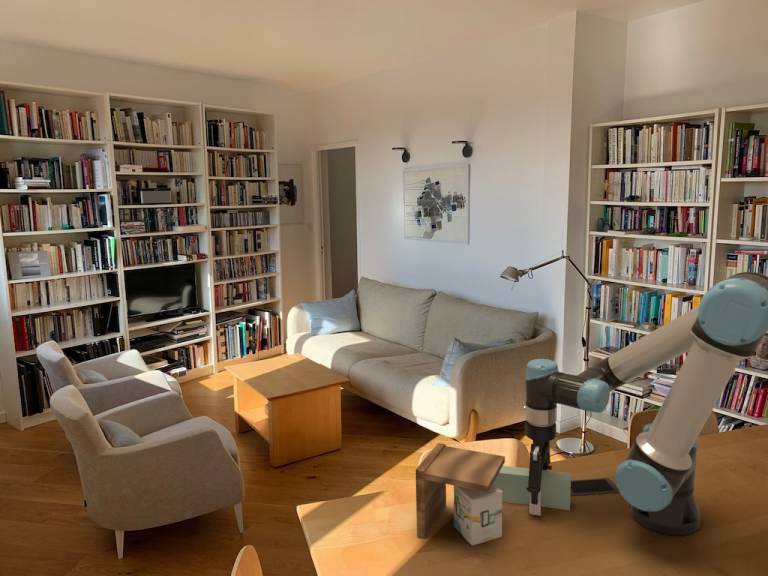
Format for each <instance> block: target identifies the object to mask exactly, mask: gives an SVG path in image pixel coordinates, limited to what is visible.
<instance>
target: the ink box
mask: <svg viewBox="0 0 768 576" xmlns="http://www.w3.org/2000/svg"><path fill="white" fill-rule="evenodd" d="M453 527H454V528H455V530H456V531H457V532H458V533H459V534H460V535H461V536H462V537H463V538H464V539H465V540H466V541H467V542H468V543H469V544H470V545H471V546H476V545H479V544H483V543H485V542H488V541H491V540H495V539H498V538H502V537H503V501H502V491H501V490H500V489H499V488H497V487H496V486H495V485H494V484H492V486H491V488H490V490H489V492H484V491H479V490H474V489H469V488H464V487H459V486H454V485H453Z"/></svg>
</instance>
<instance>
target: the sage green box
mask: <svg viewBox="0 0 768 576" xmlns="http://www.w3.org/2000/svg"><path fill="white" fill-rule="evenodd" d="M571 475H572V474H571V472H561V471H553V470H548V471H545V470H542V477H541V486H540V489H541V508H549V509H550V508H551V509H556V510H557V509H558V510H564V511H565V510H566V511H571V496H570V492H571V480H572V476H571ZM528 480H529V467H528V468H526V467H517V466H509V465H503V466H502V468H501V470H500V472H499V473H498V475H497V477H496V479H495V481H494V482H493V484H494V485H495V486H496V487H497V488H499V489H500V490H501V491H502V503H504V502H505V503H510V504H511V503H512V504H518V505H519V504H520V505H528V506H529V492H528V490H526V488H528Z"/></svg>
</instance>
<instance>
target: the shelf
mask: <svg viewBox="0 0 768 576" xmlns="http://www.w3.org/2000/svg"><path fill="white" fill-rule="evenodd" d="M505 461H506V456H504V455H500V454H499V455H498V454H494V453H493V454H492V453H487V452H482V451H476V450H471V449H464V448H460V447H454V446H449V445H448V446H447V445H446V444H445V443H441V442H438V443H436V445H435V446H434V447H433V448H432V450H431V451H430V452H429V453H428V454H427V455H426V457H425V458H424V459H423V460H422V461H421V462H420V464H419V465H418V466H417V467H416V468H415V502H416V503H415V505H416V508H415V511H416V537H417V538H421V539H425V540H426V537H427V536H428V534H429V533H431V530H432V529H433V527H434V526H435V524H436V523H437V521H438V520H439V518H440V517H441V515H442V513H443V512H444V510H445V509H446V507H447V485H450V486H453V487H454V486H459V487H464V488H469V489H474V490H479V491H484V492H489V490H490V488H491V486H492V484H493V482H494V481H495V479H496V477H497V475H498V473H499V472H500V470H501V468H502V466H504V464H505Z"/></svg>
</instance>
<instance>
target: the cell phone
mask: <svg viewBox="0 0 768 576" xmlns="http://www.w3.org/2000/svg"><path fill="white" fill-rule="evenodd" d="M618 492H619V490H618V488H617V486H616V483H614V481H612V479H610V478H608V477H602V478H601V477H600V478H588V479H574V480H573V479H571V492H570V497H582V496H585V497H586V496H593V495H594V496H595V495H596V494H598V495H607V494H608V493H612V494H619V493H618ZM608 495H609V494H608Z"/></svg>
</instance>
